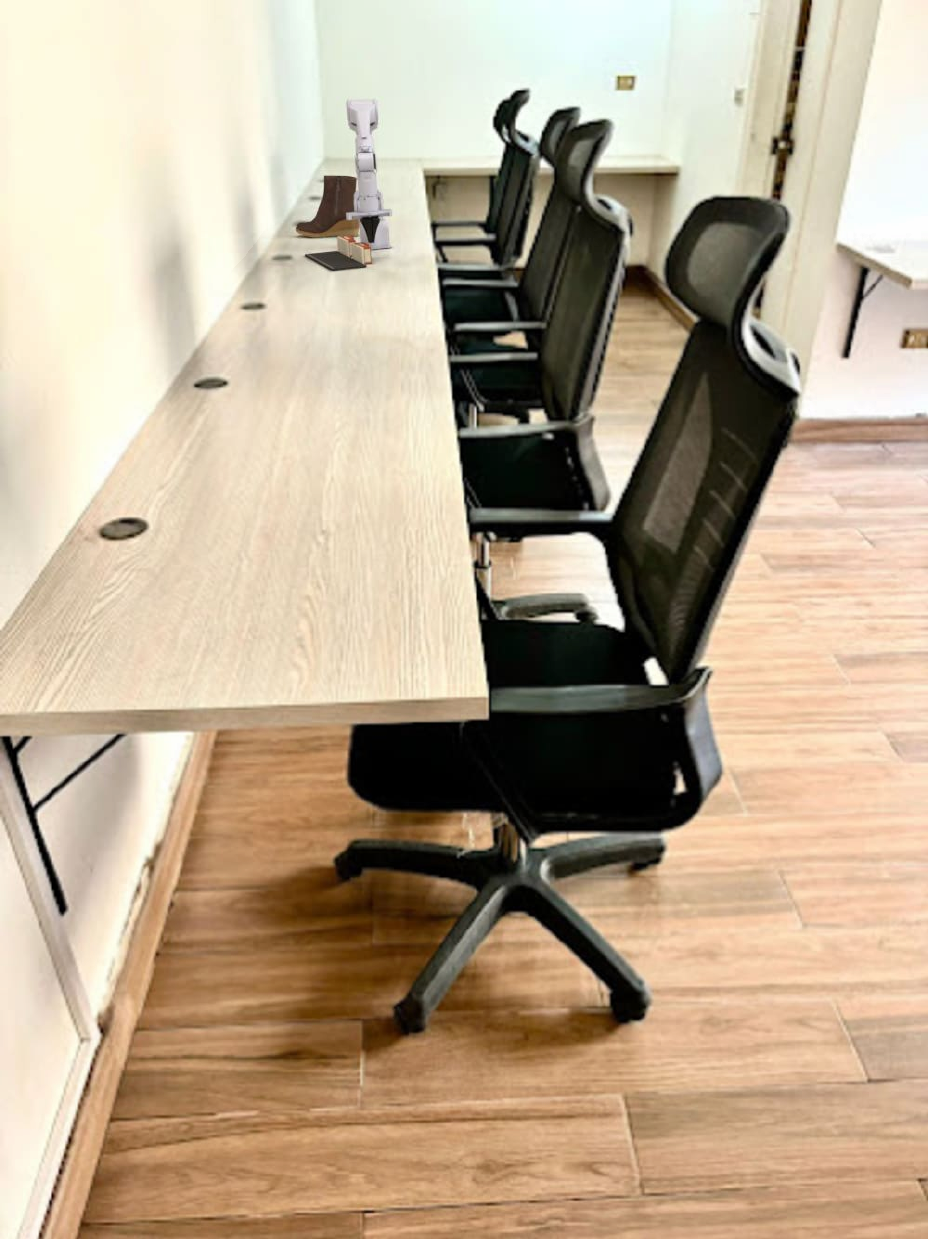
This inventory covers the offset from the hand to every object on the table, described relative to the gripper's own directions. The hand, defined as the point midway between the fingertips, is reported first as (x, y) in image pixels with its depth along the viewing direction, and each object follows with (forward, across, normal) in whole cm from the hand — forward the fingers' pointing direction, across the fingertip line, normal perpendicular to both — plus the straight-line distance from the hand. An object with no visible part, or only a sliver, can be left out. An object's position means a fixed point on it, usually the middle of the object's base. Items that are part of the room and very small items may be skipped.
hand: (371, 242), depth 300 cm
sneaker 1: (+5, -3, +13) cm, 14 cm away
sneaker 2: (+5, -3, -1) cm, 6 cm away
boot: (+5, +2, +50) cm, 50 cm away
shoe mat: (+5, -11, +4) cm, 13 cm away
